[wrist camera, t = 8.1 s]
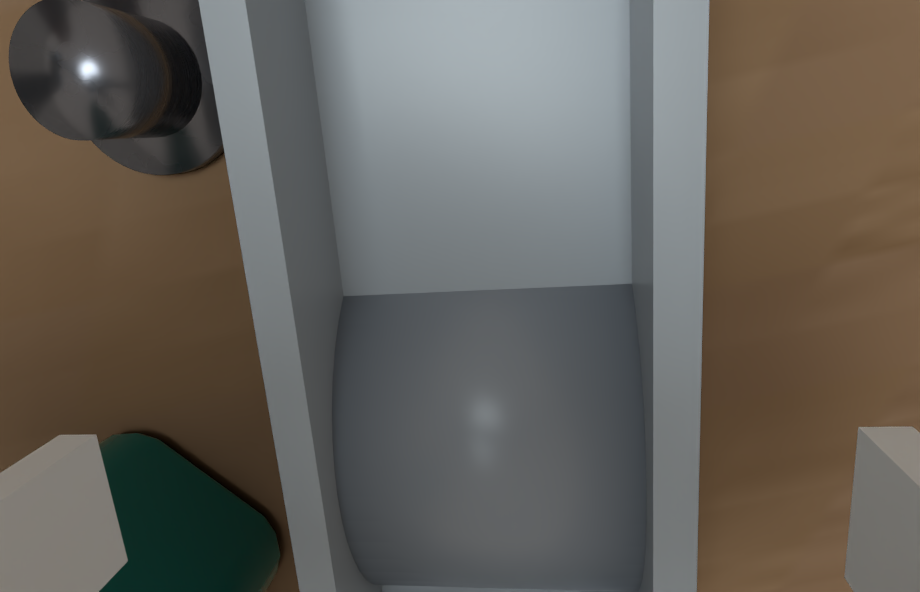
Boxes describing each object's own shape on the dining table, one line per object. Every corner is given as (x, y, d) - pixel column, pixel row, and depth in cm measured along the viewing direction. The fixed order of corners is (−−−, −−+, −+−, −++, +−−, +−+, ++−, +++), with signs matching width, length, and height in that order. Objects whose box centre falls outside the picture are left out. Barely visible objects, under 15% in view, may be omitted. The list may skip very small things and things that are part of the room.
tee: (97, 179, 22) (1, 191, 18) (55, -10, 20) (-60, -40, 16) (260, 167, 21) (196, 177, 17) (229, -32, 19) (151, -70, 15)
